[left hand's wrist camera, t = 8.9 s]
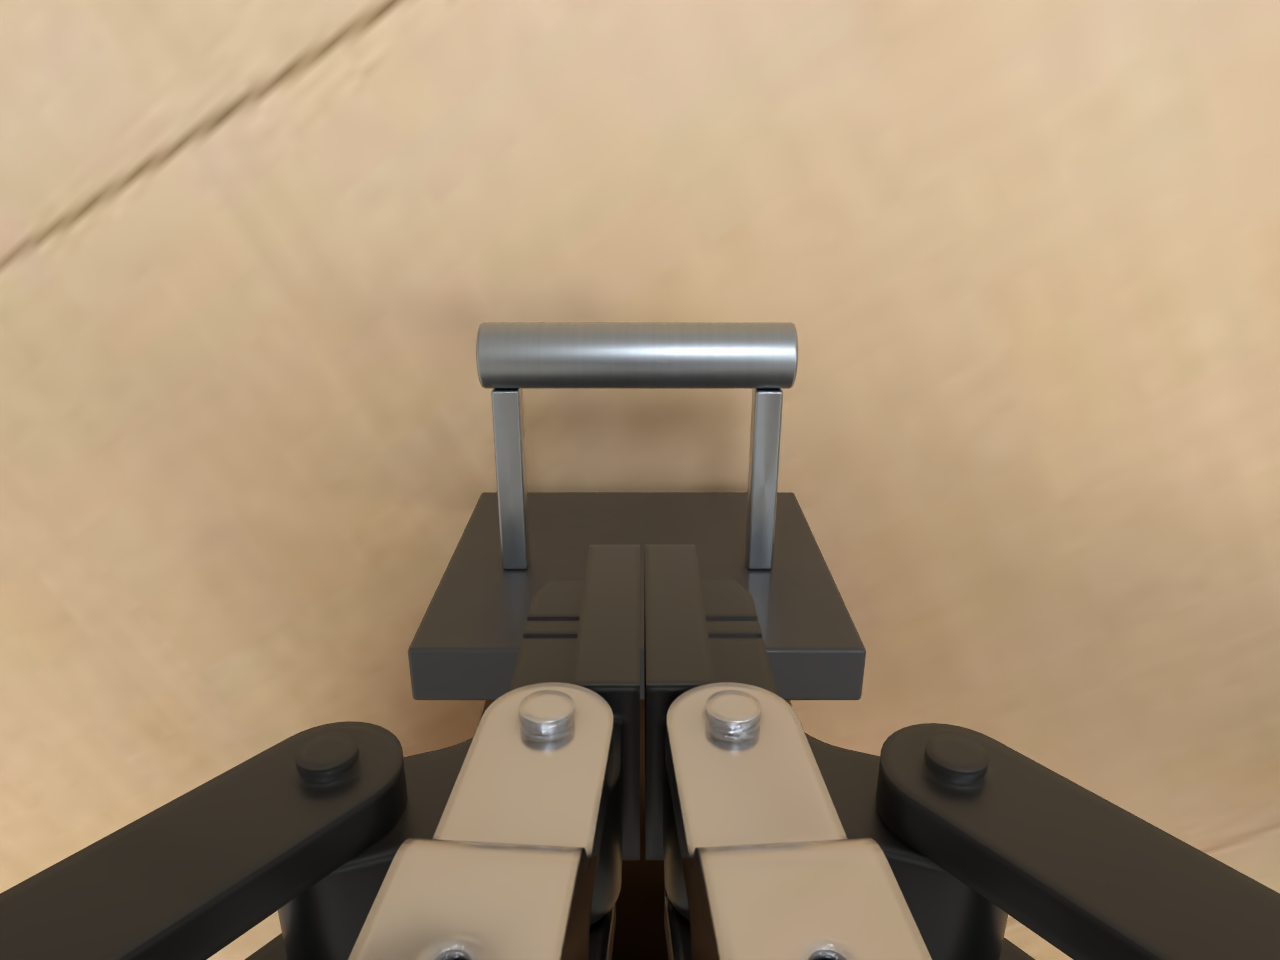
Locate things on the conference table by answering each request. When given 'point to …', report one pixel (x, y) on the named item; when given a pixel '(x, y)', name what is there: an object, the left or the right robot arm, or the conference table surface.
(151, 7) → the conference table surface
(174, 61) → the conference table surface
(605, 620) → the left robot arm
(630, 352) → the drawer
